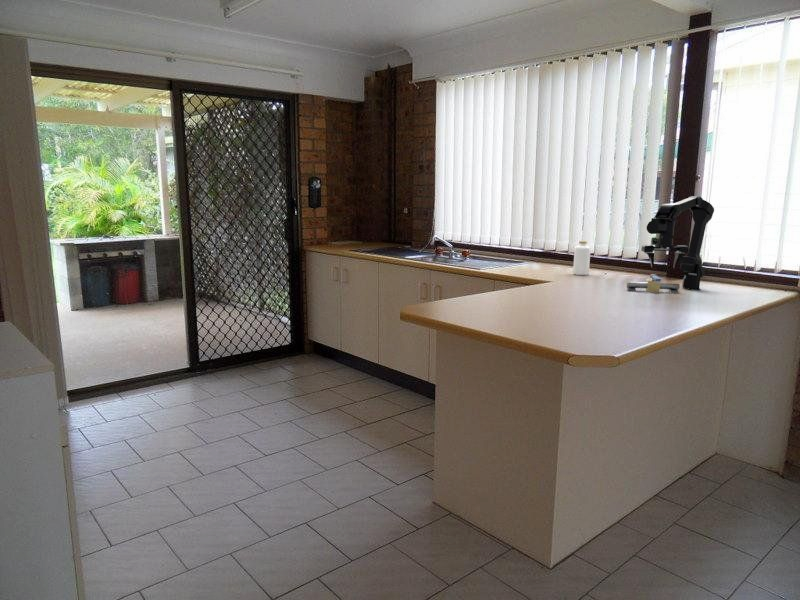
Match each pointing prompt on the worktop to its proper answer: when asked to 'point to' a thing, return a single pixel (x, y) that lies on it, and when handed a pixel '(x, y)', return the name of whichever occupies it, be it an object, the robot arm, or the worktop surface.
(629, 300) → the worktop surface
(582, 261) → the potion bottle
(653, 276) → the valve lever
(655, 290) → the pipe run
